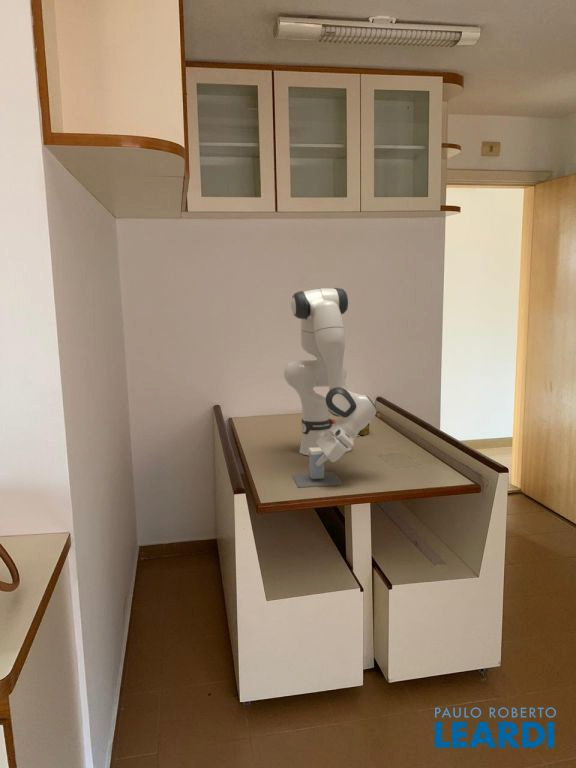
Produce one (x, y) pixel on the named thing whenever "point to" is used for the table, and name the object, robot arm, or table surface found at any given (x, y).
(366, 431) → the condiment
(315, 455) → the box
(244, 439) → the table surface
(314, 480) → the mat
